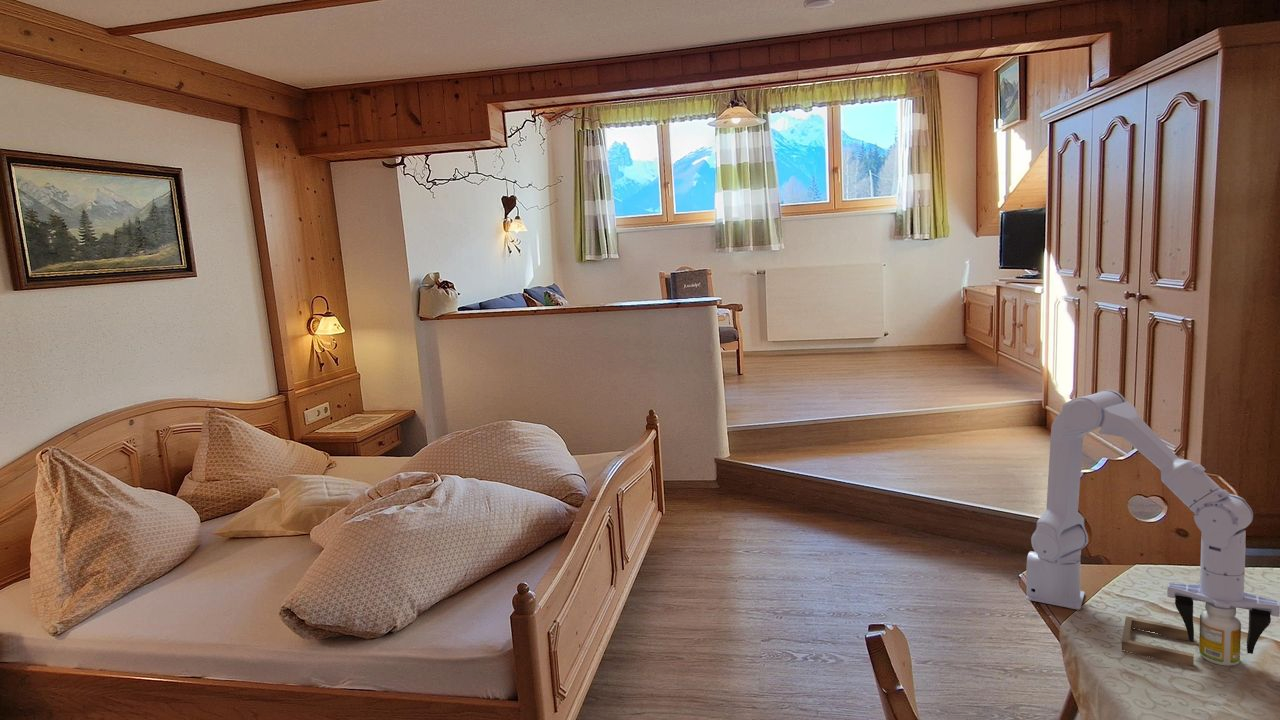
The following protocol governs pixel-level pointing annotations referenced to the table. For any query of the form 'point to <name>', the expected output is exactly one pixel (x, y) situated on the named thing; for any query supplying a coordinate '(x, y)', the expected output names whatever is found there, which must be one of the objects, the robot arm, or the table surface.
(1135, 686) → the table surface
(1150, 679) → the table surface
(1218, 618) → the supplement bottle
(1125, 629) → the wooden frame
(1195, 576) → the table surface
